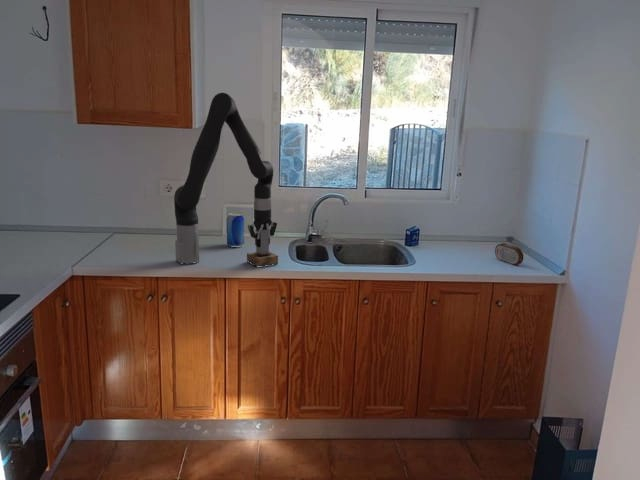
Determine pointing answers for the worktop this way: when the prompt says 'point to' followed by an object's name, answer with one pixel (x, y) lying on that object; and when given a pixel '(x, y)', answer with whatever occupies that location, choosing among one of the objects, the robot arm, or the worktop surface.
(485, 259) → the worktop surface
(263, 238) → the peg
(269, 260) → the wooden square frame
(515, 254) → the tin
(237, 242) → the beer can
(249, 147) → the robot arm
